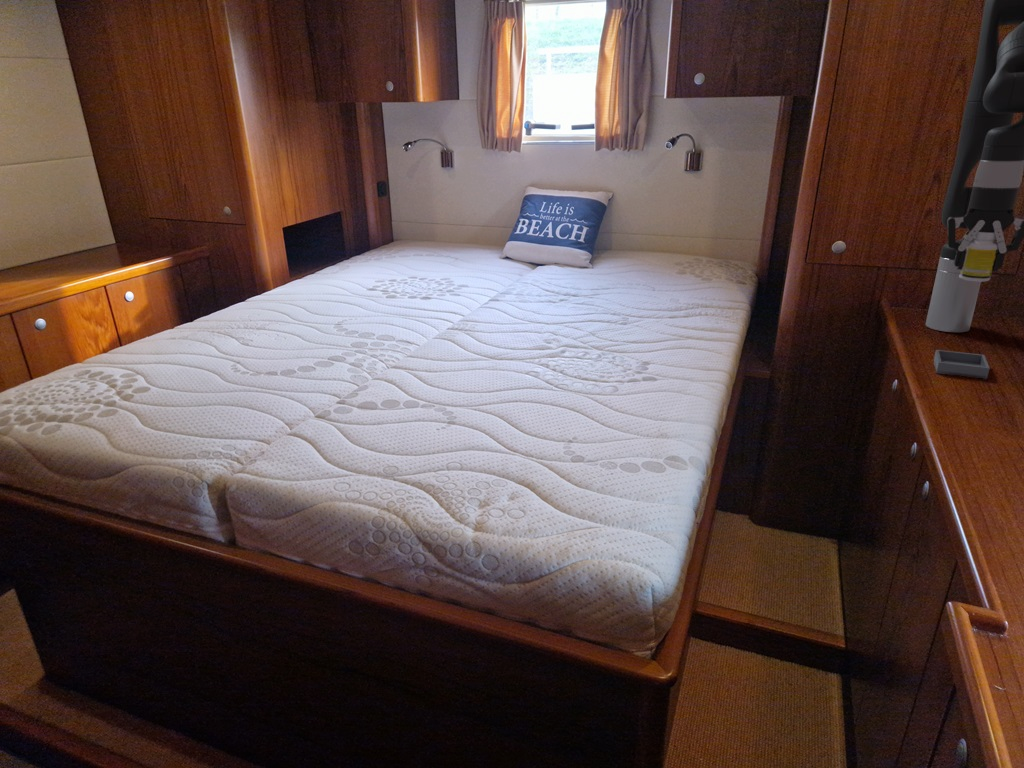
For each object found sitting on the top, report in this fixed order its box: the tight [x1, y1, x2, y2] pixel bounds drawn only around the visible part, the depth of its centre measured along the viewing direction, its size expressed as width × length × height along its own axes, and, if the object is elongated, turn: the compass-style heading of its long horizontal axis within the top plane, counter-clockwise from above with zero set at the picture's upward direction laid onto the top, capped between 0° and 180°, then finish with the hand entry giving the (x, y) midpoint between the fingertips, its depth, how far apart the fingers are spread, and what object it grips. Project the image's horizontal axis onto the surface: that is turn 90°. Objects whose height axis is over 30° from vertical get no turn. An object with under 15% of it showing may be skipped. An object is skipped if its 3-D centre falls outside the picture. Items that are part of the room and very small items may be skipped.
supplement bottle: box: [959, 232, 998, 283], centre depth 135 cm, size 5×5×10 cm
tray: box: [933, 349, 991, 380], centre depth 136 cm, size 9×9×2 cm
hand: (976, 269), depth 136 cm, fingers closed on supplement bottle, 5 cm apart
